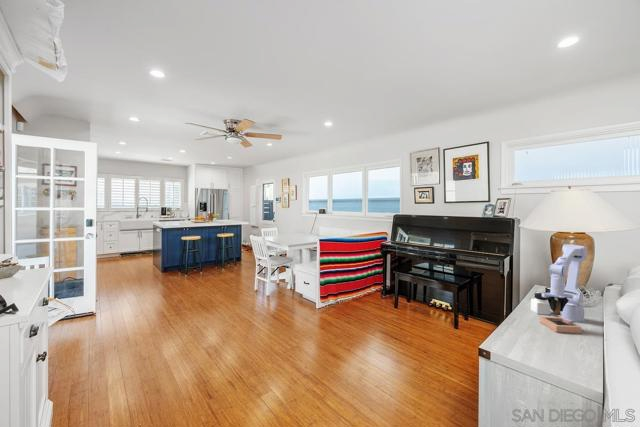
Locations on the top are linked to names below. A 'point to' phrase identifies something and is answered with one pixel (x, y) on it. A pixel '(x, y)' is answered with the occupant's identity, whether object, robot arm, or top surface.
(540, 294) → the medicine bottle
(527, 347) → the top surface
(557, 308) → the wick peg
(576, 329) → the orange square tray
